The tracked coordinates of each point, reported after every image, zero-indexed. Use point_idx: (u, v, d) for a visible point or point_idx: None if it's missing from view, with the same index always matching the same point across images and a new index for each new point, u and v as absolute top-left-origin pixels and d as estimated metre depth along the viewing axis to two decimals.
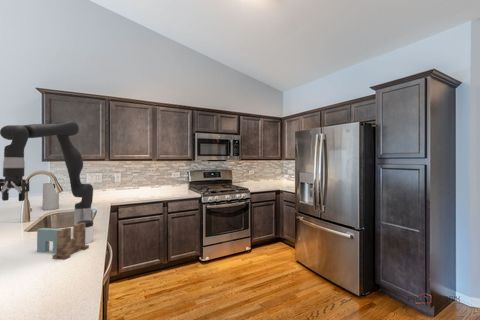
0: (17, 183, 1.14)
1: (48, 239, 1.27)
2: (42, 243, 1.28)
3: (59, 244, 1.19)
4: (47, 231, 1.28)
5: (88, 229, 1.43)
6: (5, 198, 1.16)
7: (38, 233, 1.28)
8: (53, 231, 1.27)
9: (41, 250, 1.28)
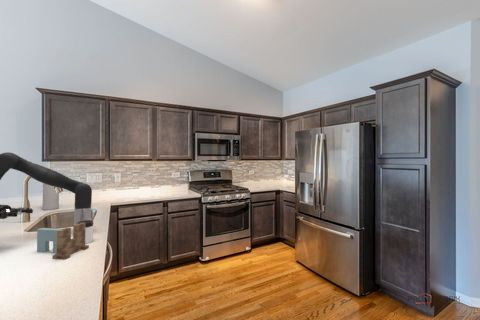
0: None
1: (48, 239, 1.27)
2: (42, 243, 1.28)
3: (59, 244, 1.19)
4: (47, 231, 1.28)
5: (88, 229, 1.43)
6: (30, 211, 1.34)
7: (38, 233, 1.28)
8: (53, 231, 1.27)
9: (41, 250, 1.28)
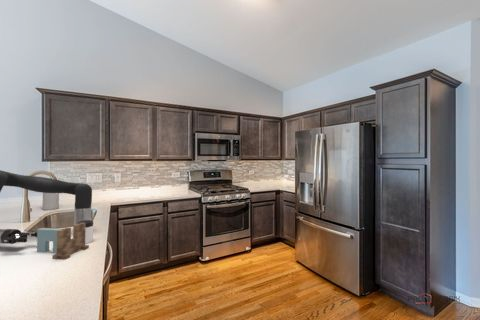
0: None
1: (48, 239, 1.27)
2: (42, 243, 1.28)
3: (59, 244, 1.19)
4: (47, 231, 1.28)
5: (88, 229, 1.43)
6: None
7: (38, 233, 1.28)
8: (53, 231, 1.27)
9: (41, 250, 1.28)
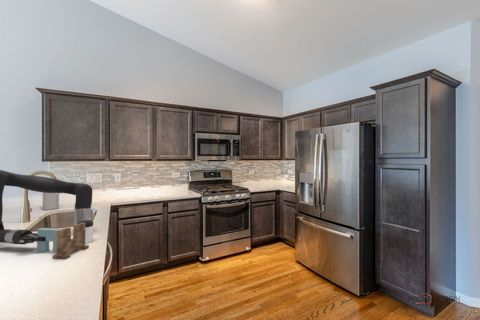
0: None
1: (48, 239, 1.27)
2: (42, 243, 1.28)
3: (59, 244, 1.19)
4: (47, 231, 1.28)
5: (88, 229, 1.43)
6: None
7: (38, 233, 1.28)
8: (53, 231, 1.27)
9: (41, 250, 1.28)
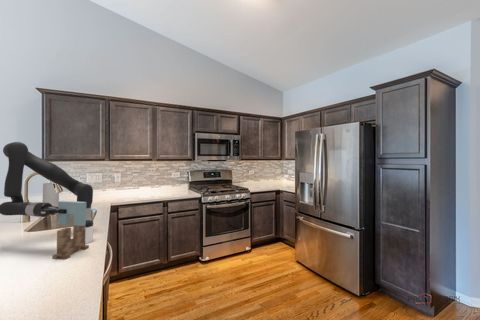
0: None
1: (69, 211, 1.26)
2: (63, 215, 1.26)
3: (59, 244, 1.19)
4: (68, 203, 1.26)
5: (88, 229, 1.43)
6: None
7: (59, 205, 1.27)
8: (74, 203, 1.26)
9: (62, 223, 1.26)
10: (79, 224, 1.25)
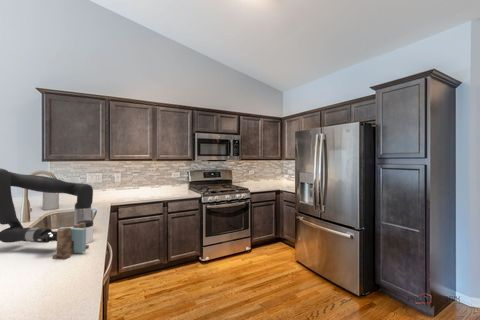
0: None
1: None
2: None
3: (59, 244, 1.19)
4: None
5: (88, 229, 1.43)
6: None
7: None
8: (74, 230, 1.26)
9: None
10: (79, 251, 1.26)
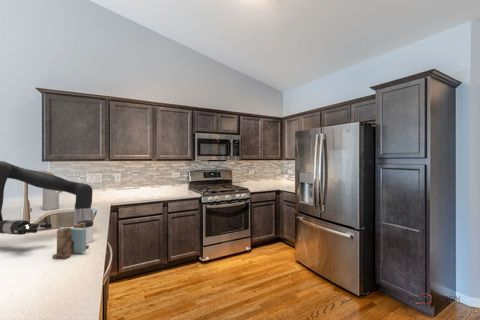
0: None
1: None
2: None
3: (59, 244, 1.19)
4: None
5: (88, 229, 1.43)
6: (48, 226, 1.33)
7: None
8: (74, 230, 1.26)
9: None
10: (79, 251, 1.26)
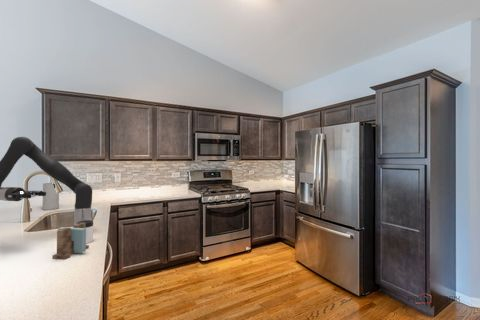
0: None
1: None
2: None
3: (59, 244, 1.19)
4: None
5: (88, 229, 1.43)
6: (43, 194, 1.34)
7: None
8: (74, 230, 1.26)
9: None
10: (79, 251, 1.26)
